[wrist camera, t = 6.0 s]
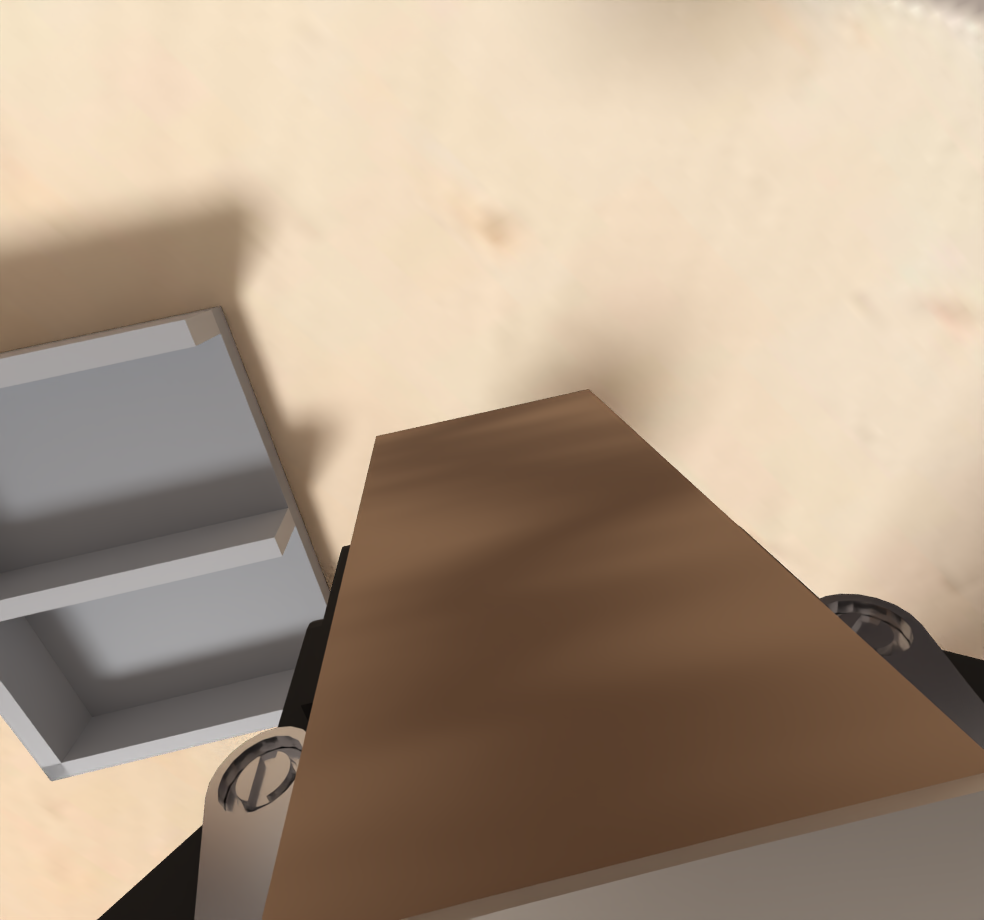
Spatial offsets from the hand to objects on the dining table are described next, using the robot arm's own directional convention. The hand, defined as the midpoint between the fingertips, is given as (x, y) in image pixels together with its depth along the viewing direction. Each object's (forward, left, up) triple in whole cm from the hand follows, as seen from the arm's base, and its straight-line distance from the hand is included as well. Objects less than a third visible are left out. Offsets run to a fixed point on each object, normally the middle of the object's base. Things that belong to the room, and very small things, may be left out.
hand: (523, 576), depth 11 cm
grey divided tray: (+17, +5, -17) cm, 24 cm away
